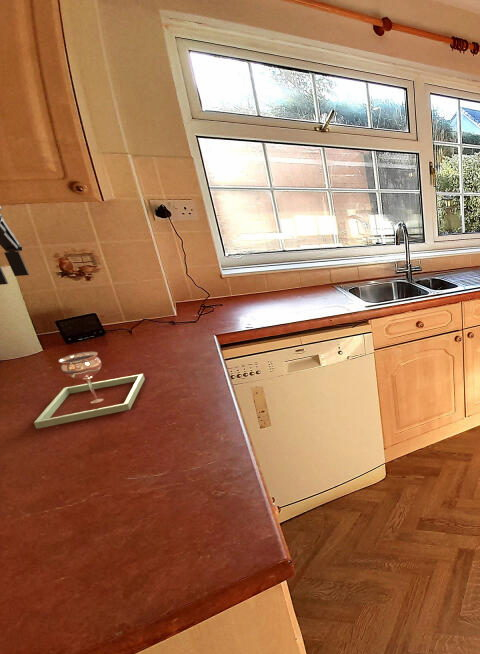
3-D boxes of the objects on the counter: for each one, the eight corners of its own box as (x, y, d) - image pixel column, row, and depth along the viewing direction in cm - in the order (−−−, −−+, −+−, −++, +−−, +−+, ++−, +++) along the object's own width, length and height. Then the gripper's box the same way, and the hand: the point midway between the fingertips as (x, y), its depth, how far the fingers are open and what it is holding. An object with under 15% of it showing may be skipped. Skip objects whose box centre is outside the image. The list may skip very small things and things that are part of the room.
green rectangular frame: (39, 434, 91) (33, 422, 90) (68, 397, 107) (63, 387, 106) (131, 414, 99) (127, 403, 97) (146, 383, 114) (143, 373, 113)
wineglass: (94, 410, 99) (74, 363, 94) (70, 408, 100) (49, 362, 95) (123, 397, 105) (105, 352, 100) (100, 395, 106) (82, 351, 102)
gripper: (-31, 195, 96) (11, 286, 104) (15, 193, 116) (48, 270, 124) (-81, 196, 93) (-34, 290, 101) (-25, 194, 113) (11, 273, 121)
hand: (11, 279), depth 112 cm, fingers open, 13 cm apart
